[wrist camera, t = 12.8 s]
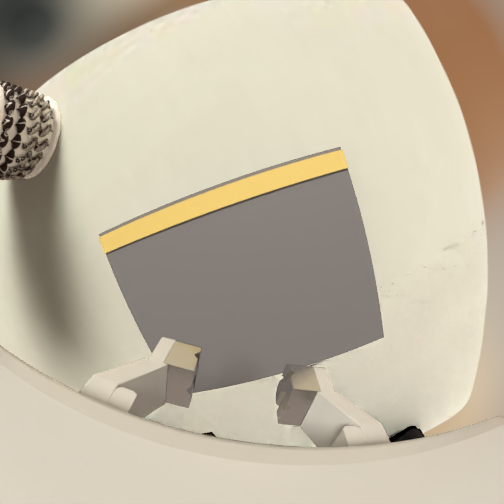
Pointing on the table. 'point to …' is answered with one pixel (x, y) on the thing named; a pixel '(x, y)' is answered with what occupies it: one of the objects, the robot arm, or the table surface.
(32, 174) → the decorative candle
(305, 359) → the plate
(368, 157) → the table surface
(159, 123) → the table surface
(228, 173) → the table surface
